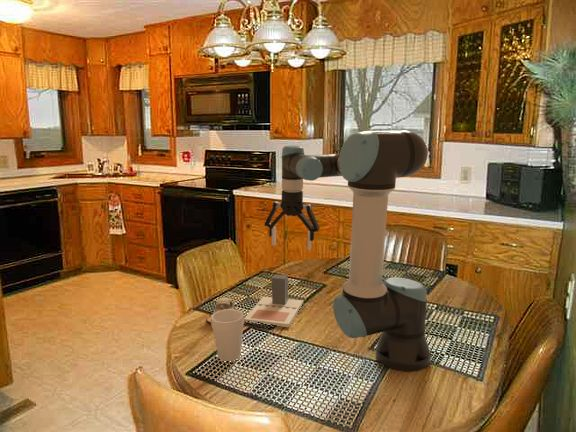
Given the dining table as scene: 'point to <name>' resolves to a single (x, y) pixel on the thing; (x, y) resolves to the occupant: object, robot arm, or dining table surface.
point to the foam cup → (228, 333)
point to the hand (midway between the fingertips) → (291, 246)
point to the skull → (224, 304)
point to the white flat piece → (272, 315)
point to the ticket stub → (280, 294)
